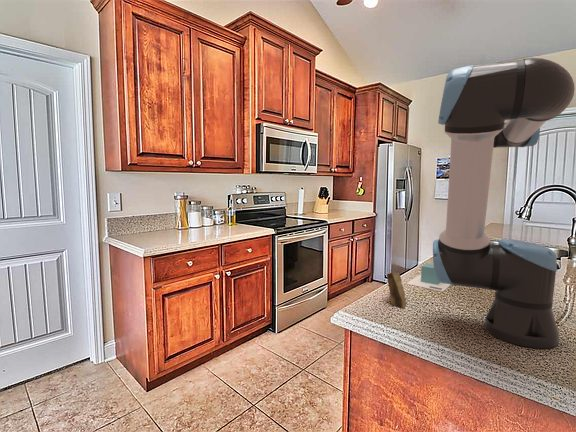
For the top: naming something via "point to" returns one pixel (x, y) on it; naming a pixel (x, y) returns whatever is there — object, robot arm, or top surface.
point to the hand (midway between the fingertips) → (460, 227)
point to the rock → (396, 290)
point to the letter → (428, 284)
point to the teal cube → (428, 274)
